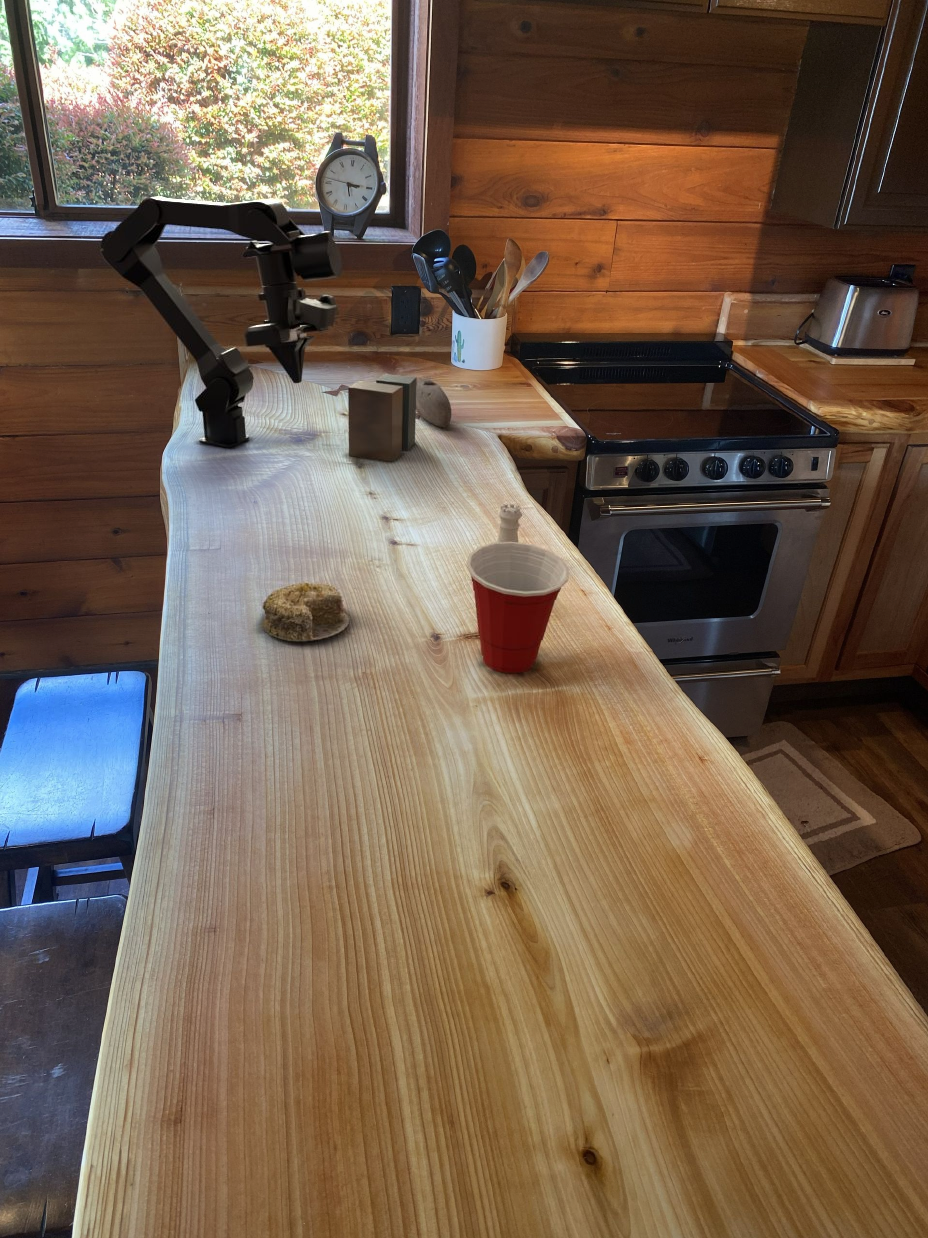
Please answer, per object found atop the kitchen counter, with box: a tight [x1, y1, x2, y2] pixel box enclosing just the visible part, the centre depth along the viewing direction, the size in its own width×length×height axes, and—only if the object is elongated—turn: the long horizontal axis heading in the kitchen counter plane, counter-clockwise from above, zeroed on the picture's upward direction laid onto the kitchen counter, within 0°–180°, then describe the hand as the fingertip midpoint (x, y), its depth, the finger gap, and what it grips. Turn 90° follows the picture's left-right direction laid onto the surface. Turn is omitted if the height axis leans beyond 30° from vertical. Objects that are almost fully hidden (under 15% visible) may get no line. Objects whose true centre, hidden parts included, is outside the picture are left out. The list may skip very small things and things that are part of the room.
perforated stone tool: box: [416, 378, 452, 428], centre depth 176 cm, size 15×5×7 cm, turn 20°
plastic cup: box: [466, 541, 570, 674], centre depth 96 cm, size 11×11×12 cm
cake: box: [261, 582, 350, 642], centre depth 103 cm, size 10×10×5 cm
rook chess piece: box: [496, 503, 523, 543], centre depth 120 cm, size 4×4×8 cm
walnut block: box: [347, 380, 403, 463], centre depth 155 cm, size 8×5×12 cm, turn 72°
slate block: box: [375, 373, 418, 452], centre depth 161 cm, size 6×5×12 cm
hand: (297, 382), depth 151 cm, fingers closed
